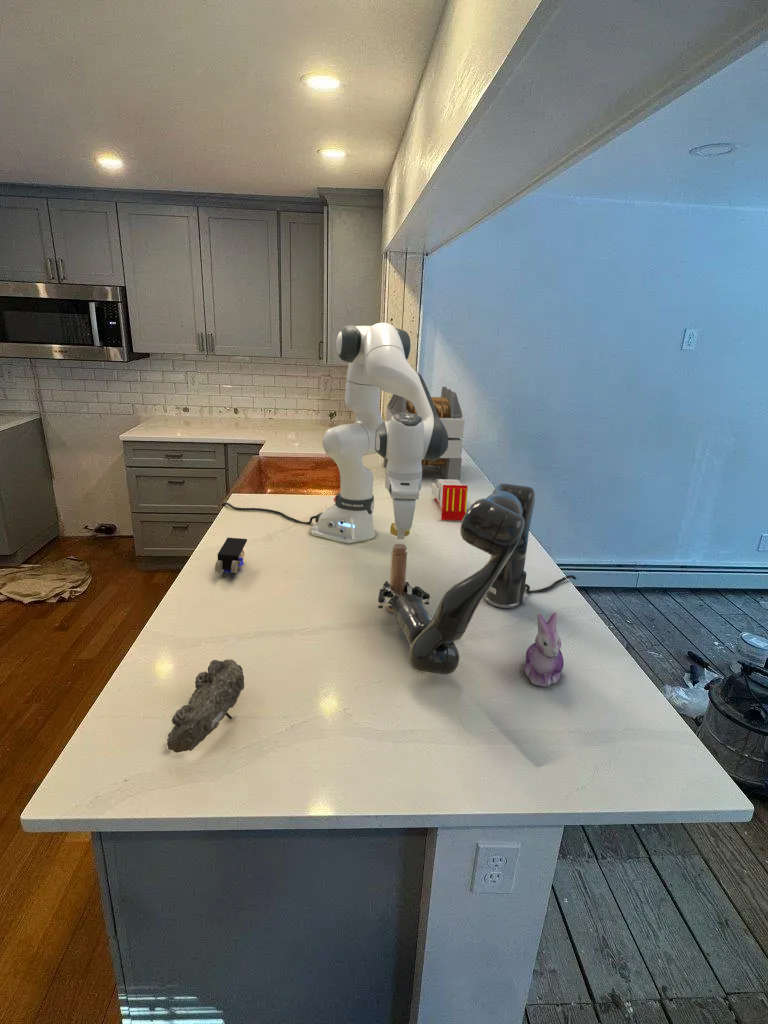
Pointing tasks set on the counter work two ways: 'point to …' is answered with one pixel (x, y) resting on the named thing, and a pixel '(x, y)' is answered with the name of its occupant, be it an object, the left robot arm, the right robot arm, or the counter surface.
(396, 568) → the bottle
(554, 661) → the figurine
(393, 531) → the lid
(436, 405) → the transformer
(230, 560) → the black toy vehicle
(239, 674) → the fossil
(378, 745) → the counter surface
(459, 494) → the toy
